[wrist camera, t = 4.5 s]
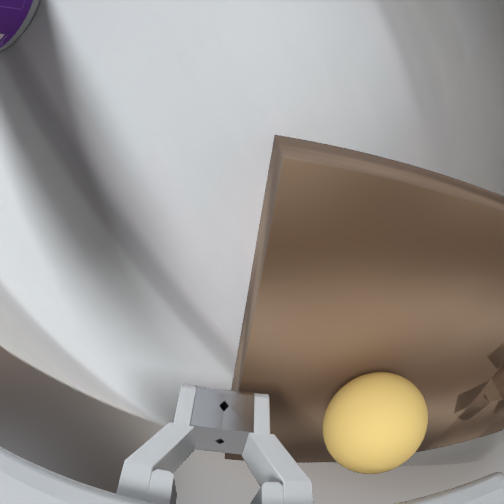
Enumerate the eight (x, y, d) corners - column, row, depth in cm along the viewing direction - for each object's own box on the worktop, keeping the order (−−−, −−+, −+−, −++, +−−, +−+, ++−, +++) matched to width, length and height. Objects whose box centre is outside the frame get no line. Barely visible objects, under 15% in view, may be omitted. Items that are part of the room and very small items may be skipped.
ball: (334, 348, 11) (357, 448, 7) (426, 350, 11) (462, 432, 7) (305, 410, 12) (313, 492, 9) (385, 408, 13) (405, 481, 9)
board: (274, 134, 11) (283, 157, 7) (582, 233, 12) (617, 262, 9) (228, 404, 19) (224, 458, 15) (485, 396, 20) (501, 430, 16)
